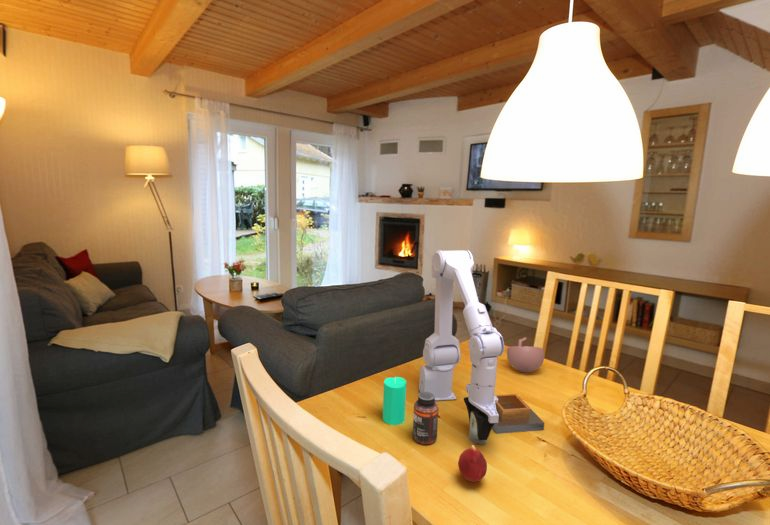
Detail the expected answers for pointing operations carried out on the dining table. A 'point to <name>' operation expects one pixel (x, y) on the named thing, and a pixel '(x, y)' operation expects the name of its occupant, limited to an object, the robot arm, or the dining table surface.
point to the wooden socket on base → (515, 415)
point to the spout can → (474, 429)
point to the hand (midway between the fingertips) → (478, 432)
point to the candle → (394, 400)
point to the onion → (472, 464)
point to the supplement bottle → (425, 418)
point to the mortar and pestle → (525, 357)
